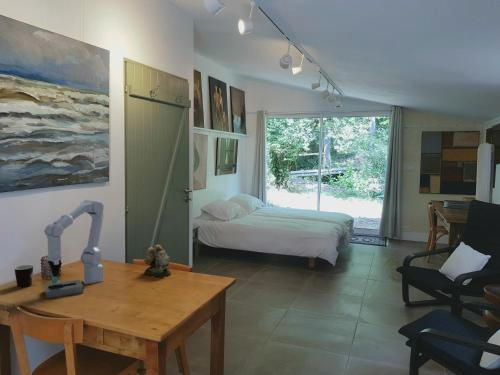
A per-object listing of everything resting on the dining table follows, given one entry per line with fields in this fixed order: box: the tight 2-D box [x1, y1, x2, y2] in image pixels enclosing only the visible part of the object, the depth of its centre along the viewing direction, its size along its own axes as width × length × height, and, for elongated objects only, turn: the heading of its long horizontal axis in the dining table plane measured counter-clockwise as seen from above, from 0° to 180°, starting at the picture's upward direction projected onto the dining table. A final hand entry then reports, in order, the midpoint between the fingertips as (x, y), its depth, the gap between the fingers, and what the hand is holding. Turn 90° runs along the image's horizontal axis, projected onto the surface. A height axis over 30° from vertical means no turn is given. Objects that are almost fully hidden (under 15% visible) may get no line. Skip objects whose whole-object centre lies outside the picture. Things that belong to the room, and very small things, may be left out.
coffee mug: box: [14, 264, 34, 289], centre depth 204 cm, size 12×9×10 cm
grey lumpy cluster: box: [143, 244, 172, 278], centre depth 226 cm, size 18×12×17 cm, turn 65°
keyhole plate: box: [44, 279, 84, 300], centre depth 194 cm, size 16×12×3 cm
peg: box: [48, 273, 62, 285], centre depth 191 cm, size 5×5×9 cm
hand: (55, 275), depth 191 cm, fingers closed on peg, 2 cm apart
